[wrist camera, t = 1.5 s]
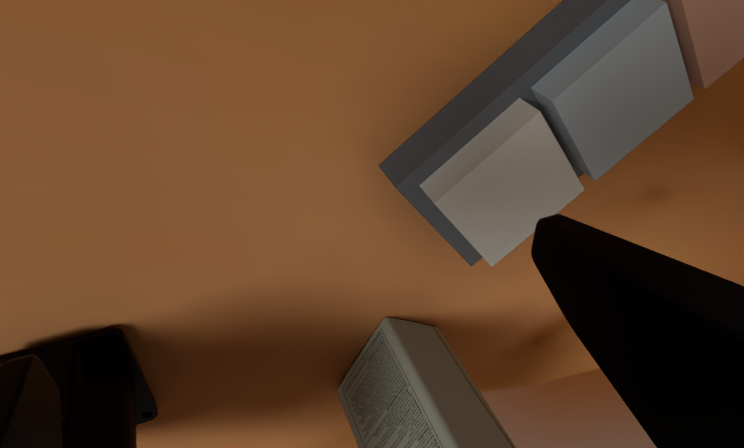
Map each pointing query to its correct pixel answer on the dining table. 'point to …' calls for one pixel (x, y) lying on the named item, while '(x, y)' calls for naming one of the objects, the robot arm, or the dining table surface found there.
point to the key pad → (543, 123)
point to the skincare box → (416, 393)
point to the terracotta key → (708, 37)
